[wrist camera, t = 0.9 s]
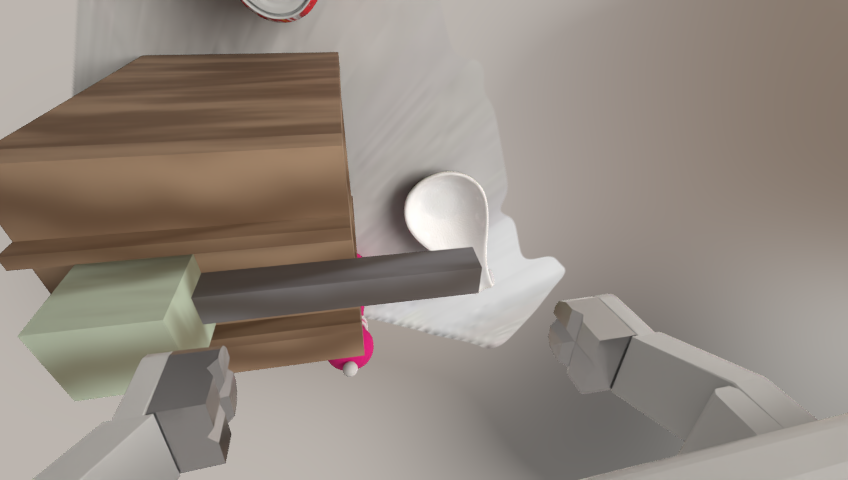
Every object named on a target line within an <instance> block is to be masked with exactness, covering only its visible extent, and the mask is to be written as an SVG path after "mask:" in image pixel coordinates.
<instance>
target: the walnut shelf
mask: <svg viewBox="0 0 848 480" xmlns="http://www.w3.org/2000/svg"><path fill="white" fill-rule="evenodd" d="M0 225H1V227H2V228H3V229H4V231H5V232H6V233H7V235H8V236H9V238H10V239H11V240H12V243H11V244H10V245H9V246H8V247H7V248H6V249H5V250H4V251H2V253H0V263H1V264H2V266H3V267H4V268H5V269H6V271H9V270H20V269H33V270H34V271H35V273H36V274H37V276H38V277H39V278H40V280H41V281H42V282H43V284H44V285H45V287H46V288H47V289H48V291H49V292H50V293H51V294H52V292H53V291H54V290H55V289H56V287H57V286H58V285H59V284H60V282H61V281H62V280H63V279H64V277H65V276H66V275H67V274H68V272H69V271H70V270H71V269H72V267H73V266H74V265H77V264H88V263H99V262H110V261H122V260H133V259H144V258H155V257H167V256H178V255H189V254H194V256H195V259H196V261H197V264H198V266H199V269H200V271H201V273H205V272H215V271H226V270H236V269H247V268H257V267H268V266H278V265H288V264H299V263H309V262H320V261H330V260H340V259H351V258H357V249H356V236H355V222H354V209H353V198H352V196H351V190H350V181H349V171H348V161H347V151H346V141H345V131H344V121H343V111H342V101H341V86H340V66H339V56H338V52H326V53H266V54H205V55H145V56H141V57H139V58H137V59H136V60H134V61H132V62H131V63H129V64H127V65H126V66H124V67H122V68H121V69H119V70H117V71H116V72H114V73H112V74H110V75H109V76H107V77H105V78H104V79H102V80H100V81H99V82H97V83H95V84H94V85H92V86H90V87H89V88H87V89H85V90H84V91H82V92H80V93H79V94H77V95H75V96H73V97H72V98H70V99H68V100H67V101H65V102H64V103H62V104H60V105H58V106H57V107H55V108H53V109H52V110H50V111H48V112H47V113H45V114H43V115H42V116H40V117H38V118H36V119H35V120H33V121H32V122H30V123H28V124H26V125H25V126H23V127H21V128H20V129H18V130H17V131H15V132H13V133H11V134H10V135H8V136H6V137H5V138H3V139H1V140H0ZM214 346H225V347H226V348H227V351H228V354H229V357H230V360H229V364H228V369H229V370H230V371H232V372H233V373H236V372H243V371H251V370H259V369H266V368H274V367H281V366H289V365H296V364H303V363H311V362H318V361H325V360H333V359H341V358H348V357H356V356H363V355H365V354H364V341H363V328H362V315H361V306H360V307H351V308H343V309H334V310H325V311H317V312H308V313H299V314H290V315H282V316H273V317H264V318H256V319H247V320H238V321H229V322H221V323H216V325H215V329H214V332H213V335H212V338H211V342H210V345H209V347H214Z"/></svg>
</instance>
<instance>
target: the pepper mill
mask: <svg viewBox="0 0 848 480" xmlns="http://www.w3.org/2000/svg"><path fill="white" fill-rule="evenodd" d="M361 257H362V256H360V255H359V254H357V258H361ZM363 311H364V306H361V315H362V328H363V341H364V354H365V355H363V356H356V357H348V358H341V359H333V360H328V361H329V362H330V364H331V365H333V366H334V367H335V368H337V369H340V370H343V373H344V374H345V375H346V376H348V377H352V376H354V375H355V374H356V373H357V371H358V368H361V367H362V366H364V365H365V364H366V363H367V362H368V361H369V359H370V358H371V356H372V353H373V339H372V336H371V335H370V333H369V332H368V323H367V320H366V318H365V317H364V316H363Z"/></svg>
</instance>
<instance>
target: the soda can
mask: <svg viewBox="0 0 848 480" xmlns="http://www.w3.org/2000/svg"><path fill="white" fill-rule="evenodd" d="M241 2H242V3H243V4H244V5H245V6H246V7H247V8H249V9H250V10H251V11H252V12H254V13H255V14H257V15H258V16H260V17H262V18H264V19H267V20H270V21H274V22H292V21H295V20H298V19H300V18H302V17H303V16H305V15H307V14H308V13H309V12H310V11H311V9H312V8H313V7H314V5H315V4H316V2H317V0H241Z"/></svg>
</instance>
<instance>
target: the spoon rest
mask: <svg viewBox="0 0 848 480" xmlns="http://www.w3.org/2000/svg"><path fill="white" fill-rule="evenodd" d="M404 218H405V222H406V225H407V227H408V229H409V231H410V232H411V234H412V235H413V236H414V238H415V239H416V240H417V241H418V242H419V243H420V244H421V245H423V246H424V247H425V248H426V249H428V250H429V251H434V250H445V249H455V248H465V247H473V249H474V251H475V253H476V256H477V258H478V260H479V262H480V264H481V266H482V272H481V279H480V286H479V292H480V291H482V290H484V289H487V288H491V287H493V286H494V276H493V272H492V271H491V270H490V269H488V267H487V257H486V253H487V237H488V204H487V199H486V195H485V193H484V190H483V189H482V187H481V186H480V185H479V183H478V182H477V181H475V180H474V179H473V178H471V177H470V176H468V175H466V174H463V173H460V172H454V171H445V172H440V173H436V174H433V175H430V176H428V177H426V178H424V179H423V180H421V181H420V182H419V183H417V184H416V185H415V186H414V187H413V188H412V190H411V191H410V192H409V194H408V196H407V198H406V201H405V204H404ZM474 294H477V293H474Z"/></svg>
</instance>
